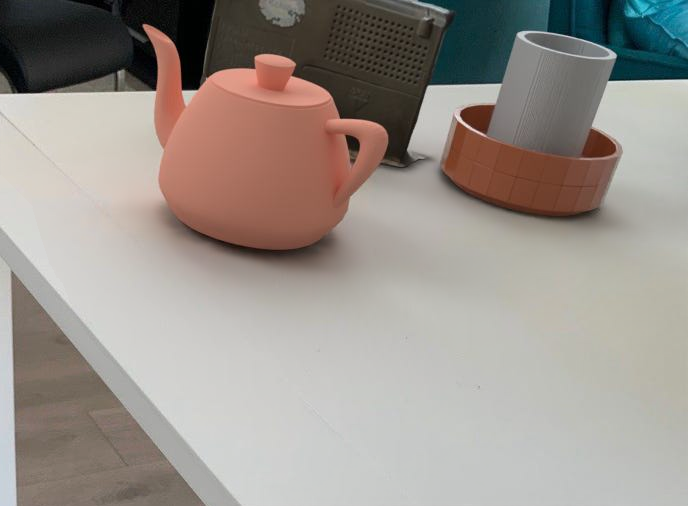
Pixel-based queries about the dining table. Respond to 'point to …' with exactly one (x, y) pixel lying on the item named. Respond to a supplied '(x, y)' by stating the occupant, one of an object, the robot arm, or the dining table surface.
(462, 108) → the bowl
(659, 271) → the dining table surface
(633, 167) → the dining table surface
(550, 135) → the cup
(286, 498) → the dining table surface
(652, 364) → the dining table surface
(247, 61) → the radio
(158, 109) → the teapot
